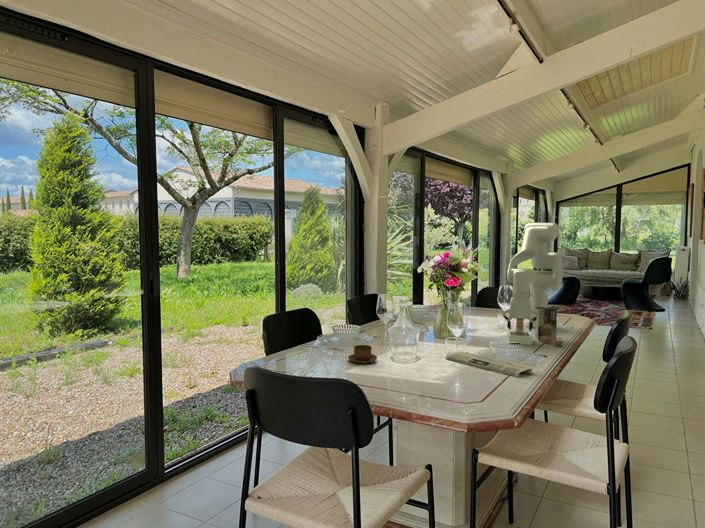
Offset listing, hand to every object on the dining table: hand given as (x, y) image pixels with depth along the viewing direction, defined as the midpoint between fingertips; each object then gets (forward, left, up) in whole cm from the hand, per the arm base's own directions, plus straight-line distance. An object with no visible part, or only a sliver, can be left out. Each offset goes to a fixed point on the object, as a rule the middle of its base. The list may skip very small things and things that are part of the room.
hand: (519, 329), depth 246 cm
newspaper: (+47, -15, -7) cm, 50 cm away
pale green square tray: (0, 0, -6) cm, 6 cm away
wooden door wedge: (+2, +14, -6) cm, 15 cm away
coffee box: (-9, +13, -6) cm, 17 cm away
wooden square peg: (0, 0, -5) cm, 5 cm away
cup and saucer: (+54, -67, -6) cm, 86 cm away
